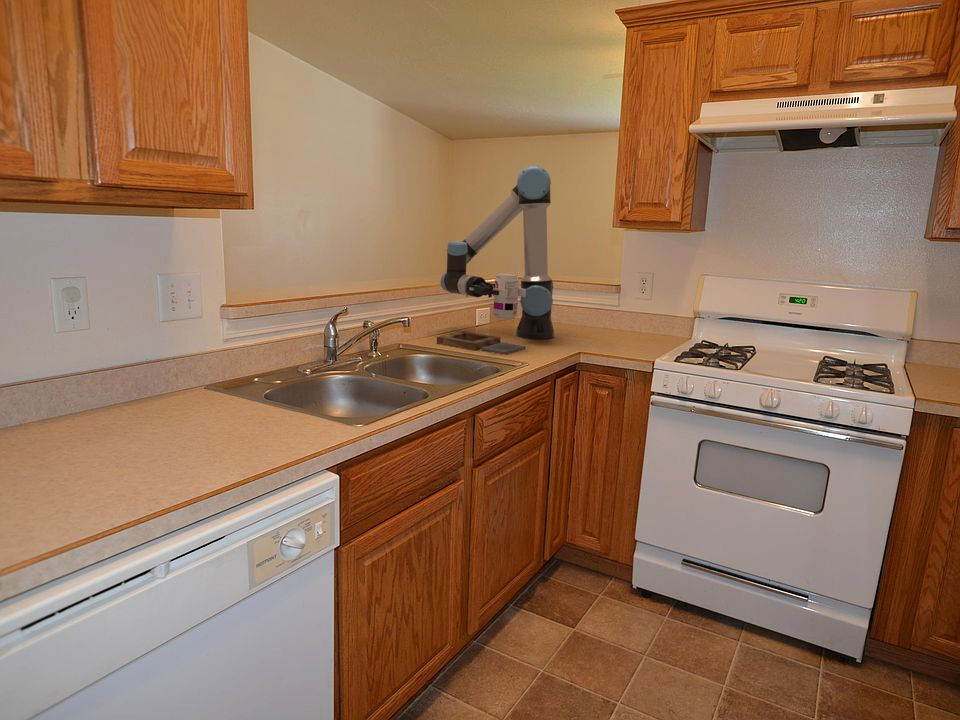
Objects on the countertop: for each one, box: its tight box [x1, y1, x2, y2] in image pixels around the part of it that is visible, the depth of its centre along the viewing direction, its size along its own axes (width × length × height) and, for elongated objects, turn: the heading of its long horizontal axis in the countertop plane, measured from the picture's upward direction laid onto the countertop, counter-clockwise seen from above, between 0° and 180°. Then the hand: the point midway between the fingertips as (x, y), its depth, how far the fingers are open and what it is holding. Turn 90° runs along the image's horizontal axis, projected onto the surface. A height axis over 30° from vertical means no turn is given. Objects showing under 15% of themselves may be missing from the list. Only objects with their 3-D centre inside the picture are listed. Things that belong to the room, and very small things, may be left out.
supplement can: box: [492, 273, 520, 320], centre depth 221 cm, size 8×8×15 cm
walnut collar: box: [436, 330, 501, 351], centre depth 233 cm, size 17×17×2 cm
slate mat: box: [480, 341, 526, 356], centre depth 225 cm, size 14×10×1 cm
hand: (515, 293), depth 217 cm, fingers closed on supplement can, 8 cm apart
